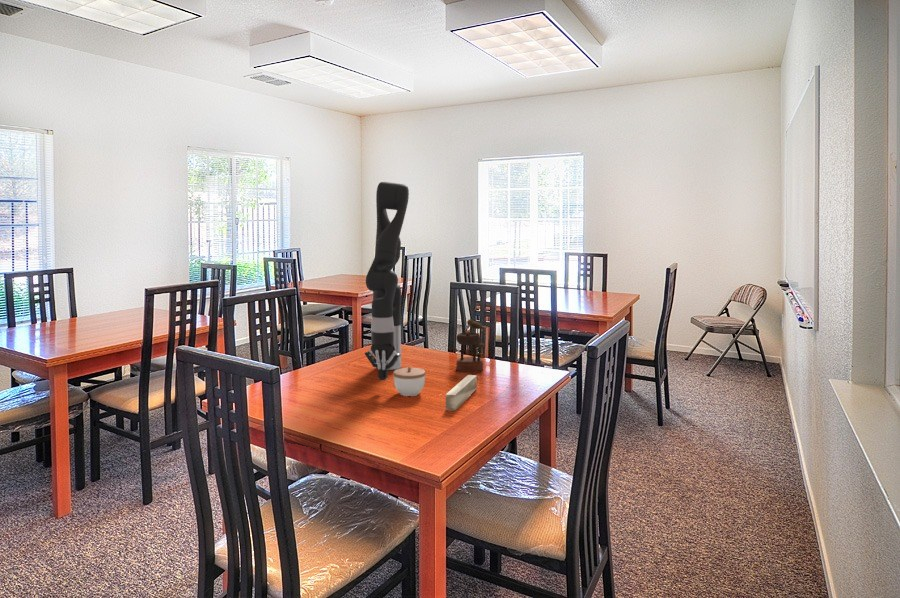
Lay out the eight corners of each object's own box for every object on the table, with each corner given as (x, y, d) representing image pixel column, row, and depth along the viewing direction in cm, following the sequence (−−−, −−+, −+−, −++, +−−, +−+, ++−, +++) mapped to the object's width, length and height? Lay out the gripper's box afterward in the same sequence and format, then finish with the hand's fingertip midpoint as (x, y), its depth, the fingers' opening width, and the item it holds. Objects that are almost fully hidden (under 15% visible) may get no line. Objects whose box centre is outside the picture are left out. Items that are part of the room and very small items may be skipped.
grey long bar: (445, 410, 177) (445, 394, 177) (468, 388, 200) (468, 374, 199) (455, 411, 176) (455, 395, 176) (476, 389, 199) (476, 375, 198)
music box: (487, 365, 232) (487, 317, 228) (487, 375, 221) (487, 324, 217) (449, 364, 233) (449, 316, 229) (447, 374, 222) (447, 324, 218)
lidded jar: (393, 389, 199) (393, 363, 198) (424, 388, 200) (424, 362, 198) (393, 399, 188) (392, 371, 187) (426, 398, 189) (426, 370, 188)
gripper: (359, 330, 193) (360, 380, 195) (395, 332, 188) (396, 384, 191) (369, 326, 200) (370, 375, 202) (405, 328, 195) (405, 378, 198)
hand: (383, 379), depth 196 cm, fingers closed
